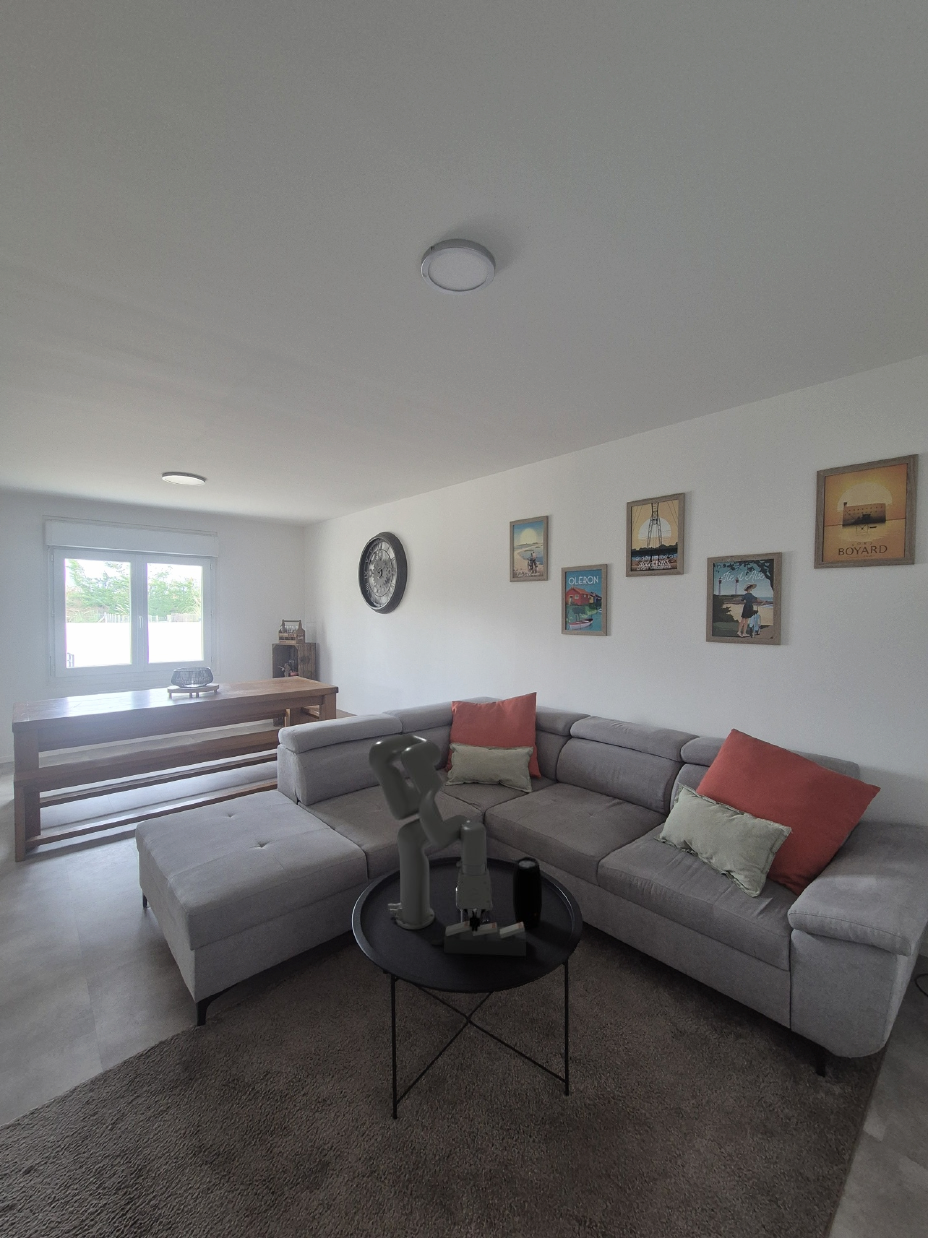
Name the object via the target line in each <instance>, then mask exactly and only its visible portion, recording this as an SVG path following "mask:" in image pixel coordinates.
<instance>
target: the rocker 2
mask: <svg viewBox="0 0 928 1238" xmlns="http://www.w3.org/2000/svg"><path fill="white" fill-rule="evenodd" d="M497 927H498V925H497V922H493V923H487V924H485V923H484V924H480V927H478V930H477V931H475V930H474V931H472V932H473V936H475V935H481V934H487V933H493V932H497Z"/></svg>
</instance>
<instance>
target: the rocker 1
mask: <svg viewBox="0 0 928 1238" xmlns="http://www.w3.org/2000/svg"><path fill="white" fill-rule="evenodd" d="M450 925H451V926H448V927H446V928H445V931H446V935H447V936H449V935H452V934H456V933H459V932H463V931H466V930H470V920H466V921H462V922H458V923H455V924H450Z"/></svg>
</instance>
